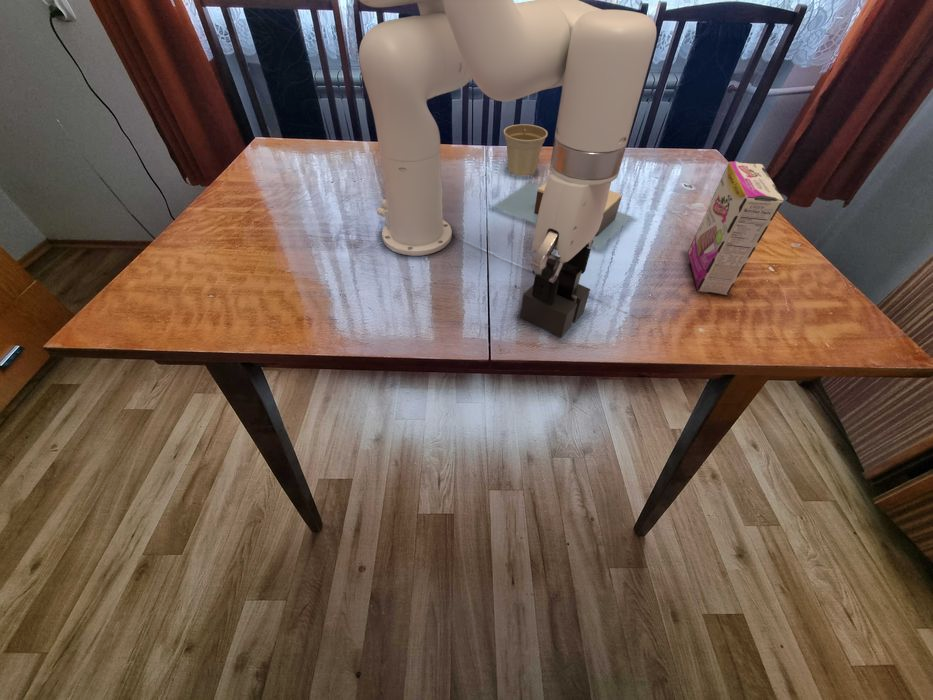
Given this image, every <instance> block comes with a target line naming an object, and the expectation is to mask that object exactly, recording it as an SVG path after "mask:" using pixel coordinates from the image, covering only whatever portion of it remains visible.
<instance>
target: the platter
mask: <svg viewBox="0 0 933 700" xmlns="http://www.w3.org/2000/svg"><path fill="white" fill-rule="evenodd" d="M541 186H542V185H541V184H538V183H536V182H532V181H531V182H529V183H527V184H526V185H524V186H523V187H521V188H520V189H518V190H517V191H515V192H514V193H512V194H511V195H509V196H508V197H506V198H505V199H504V200H502V201H500V202H499V203H497V204H496V205H494V206H493V207H494V208H495V209H498V210H501V211H502V212H505V213H508V214H510V215H513V216H515V217H518V218H520V219H523V220H525V221H529V222H531V223H534V224H536V222H537V218H538V214H535V213H534V211H535V204H536V197H537V190H538V188H539V187H541ZM630 218H632V216H631V215H628V214H626V213H622V212H619V211H617V214H616V218H615V220H614V221H613V222H611V223H610V224H609V225H608V226H607V227H606V228H605V229H604V230H603V231H602V232H601V233H600V234H599V235H598V236H594V242H593V244H592V246H593V247H596V248H598V249H600V248H602V246H603V245H604V244H605V243H606V242H607V241H608V240H610V238H611V237H612V236H613V235H614V234H615V233H616V232H617V231H618V230H620V229H621V227H623V225H624V224H625V223H626V222H627V221H628V220H630Z"/></svg>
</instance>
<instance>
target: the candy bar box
mask: <svg viewBox="0 0 933 700" xmlns="http://www.w3.org/2000/svg"><path fill="white" fill-rule="evenodd" d="M784 201H785V199H784V198H783V196H782V194H781V193H780V190H778V188H777V186H776V185H775V183H774V182H773V180H772V179H771V176H770V175H769V172H767V170H766V168H765V167H764V164H762V163H753V162H746V161H745V162H744V161H743V162H741V161H728V163H727V164H726V167H725V170H724V172H723V174H722V176H721V179H720V181H719V182H718V185H717V187H716V189H715V191H714V193H713V196H712V198H711V201H710V202H709V204H708V207H707V209H706V211H705V214H704V216H703V218H702V220H701V223H700V225H699V226H698V229H697V230H696V231H697V232H696V233H695V234H694V235H695V236H694V237H693V240H692V242H691V244H690V246H689V249H688V250H687V254H688V257H689V261H690V262H689V265H690V268H691V273H692V276H693V280H694V283H695V288H696V291H697V292H699V293H705V294H713V295H720V296H728V295H729V293H730V292H731V290H732V288H733V287H734V285H735V283H736V282H737V280H738V278H739V277H740V275H741V273H742V272H743V270H744V268H745V266H746V265H747V263H748V262H749V260H750V258H751V256H752V254H753V253H754V251H755V250H756V248H757V247H758V245H759V243H760V242H761V240H762V238H763V237H764V235H765V233H766V231H767V230H768V228H769V226H770V224H771V223H772V221H773V220H774V217H775V216H776V214H777V212H778V211H779V210H780V208H781V206H782V205H783V203H784Z"/></svg>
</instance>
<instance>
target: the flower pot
mask: <svg viewBox="0 0 933 700" xmlns="http://www.w3.org/2000/svg"><path fill="white" fill-rule="evenodd" d="M548 134H549V133H548V130H547V129H545V128H544V127H541V126H539V125H536V124H529V123H523V124H522V123H520V124H519V123H518V124H513V125H509V126H506V127H505V128H504V129H503V136H504V137H505V138H504V139H505V142H506V156H507V171H508V172H509V173H510V174H512V175H515V176H520V177H526V176H528V177H529V176H531V175H534V174H535V173H536V170H537V166H538V162H539V159H540V155H541V152H542V148H543V144H544V143H545V141H546V138H547V137H548Z"/></svg>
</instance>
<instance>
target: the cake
mask: <svg viewBox="0 0 933 700" xmlns="http://www.w3.org/2000/svg"><path fill="white" fill-rule="evenodd" d="M622 198H623V194H622V193H620V192H619V193H618V192H616V191H613V190H611V189H610V190H609V194H608V199H607V203H606V207H605V211H604V215H603V218H602V222H601V225H600V227H599V230H598V232H597V234H596V235H595V236H598V235H599V234H600V233H601V232H602V231H603V230H604V229H605V228H606V227H607V226H608V225H609V224H610V223H611V222H613V221H614V220H615V218H616V214H617V212H619V208H620V206H621V205H620V204H621V201H622Z"/></svg>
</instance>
